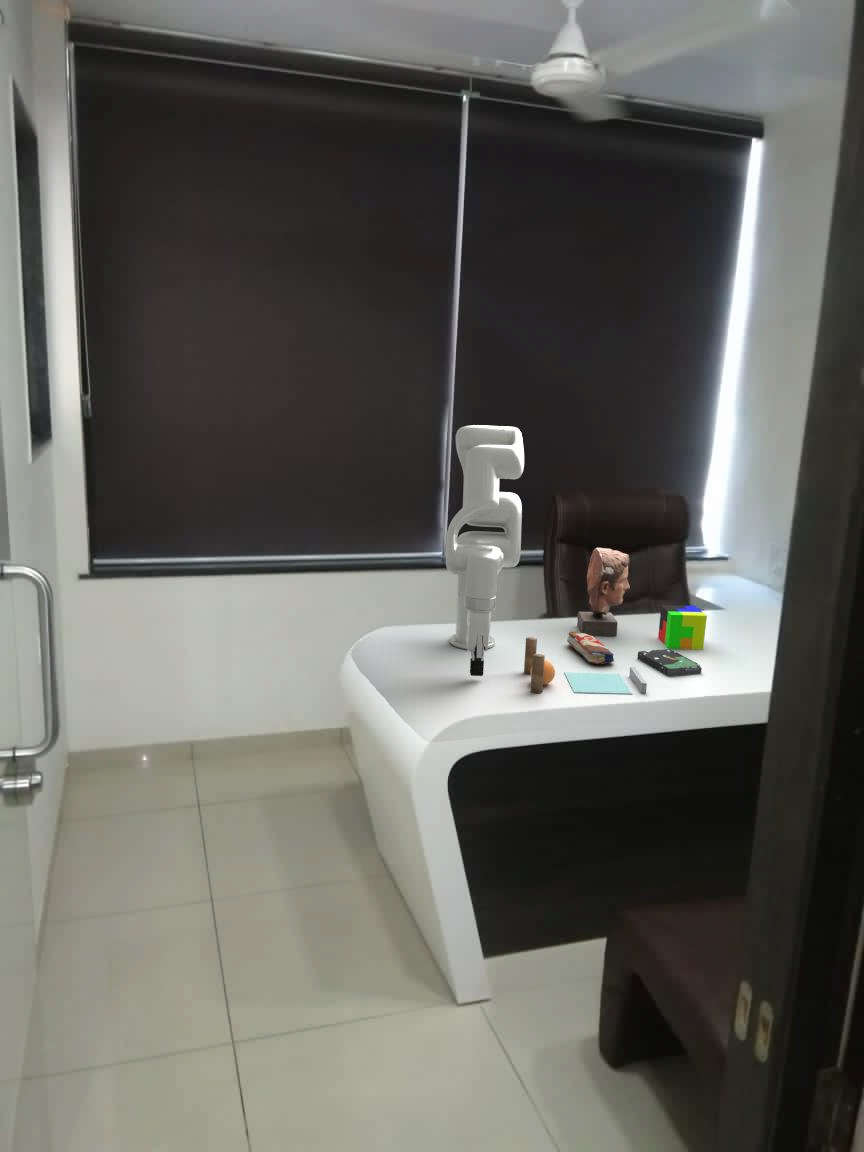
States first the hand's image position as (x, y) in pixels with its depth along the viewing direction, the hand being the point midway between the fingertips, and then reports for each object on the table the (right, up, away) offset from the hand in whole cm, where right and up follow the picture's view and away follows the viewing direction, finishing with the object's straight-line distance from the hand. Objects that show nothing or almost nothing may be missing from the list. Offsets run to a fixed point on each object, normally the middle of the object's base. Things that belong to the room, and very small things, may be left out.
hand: (476, 674), depth 220 cm
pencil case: (+32, +2, +23) cm, 39 cm away
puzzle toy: (+60, +5, +36) cm, 70 cm away
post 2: (+14, -3, -6) cm, 16 cm away
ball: (+16, +1, -1) cm, 16 cm away
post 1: (+14, 0, +7) cm, 16 cm away
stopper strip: (+40, -3, +2) cm, 40 cm away
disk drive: (+52, 0, +17) cm, 54 cm away
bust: (+39, +8, +45) cm, 60 cm away
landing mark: (+30, -2, +1) cm, 30 cm away
